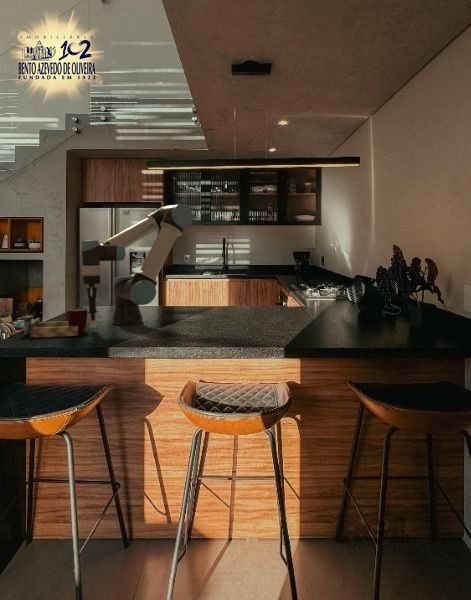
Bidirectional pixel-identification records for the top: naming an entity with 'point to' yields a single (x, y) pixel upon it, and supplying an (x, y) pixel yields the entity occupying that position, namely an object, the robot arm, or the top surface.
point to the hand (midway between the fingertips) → (93, 327)
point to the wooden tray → (52, 329)
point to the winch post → (27, 324)
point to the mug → (77, 318)
